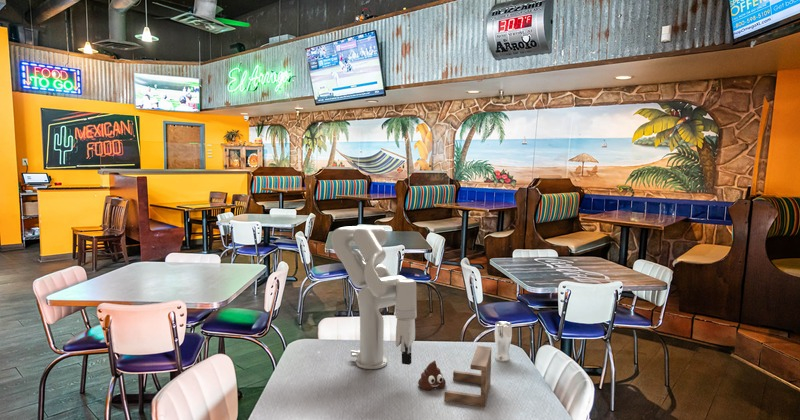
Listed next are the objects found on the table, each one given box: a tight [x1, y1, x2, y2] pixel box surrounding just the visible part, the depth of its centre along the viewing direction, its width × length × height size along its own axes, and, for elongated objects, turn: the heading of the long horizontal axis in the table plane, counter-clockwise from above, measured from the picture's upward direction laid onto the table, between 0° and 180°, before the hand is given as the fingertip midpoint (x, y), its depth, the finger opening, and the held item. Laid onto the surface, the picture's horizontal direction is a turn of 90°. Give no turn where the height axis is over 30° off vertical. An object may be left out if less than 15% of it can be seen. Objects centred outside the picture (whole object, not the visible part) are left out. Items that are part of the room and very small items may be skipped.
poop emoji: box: [418, 360, 447, 391], centre depth 159 cm, size 10×8×9 cm
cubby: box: [443, 345, 492, 408], centre depth 155 cm, size 14×18×14 cm
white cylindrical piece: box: [494, 320, 513, 363], centre depth 184 cm, size 7×7×15 cm
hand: (406, 363), depth 161 cm, fingers closed
